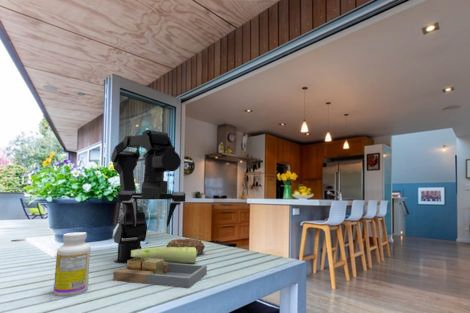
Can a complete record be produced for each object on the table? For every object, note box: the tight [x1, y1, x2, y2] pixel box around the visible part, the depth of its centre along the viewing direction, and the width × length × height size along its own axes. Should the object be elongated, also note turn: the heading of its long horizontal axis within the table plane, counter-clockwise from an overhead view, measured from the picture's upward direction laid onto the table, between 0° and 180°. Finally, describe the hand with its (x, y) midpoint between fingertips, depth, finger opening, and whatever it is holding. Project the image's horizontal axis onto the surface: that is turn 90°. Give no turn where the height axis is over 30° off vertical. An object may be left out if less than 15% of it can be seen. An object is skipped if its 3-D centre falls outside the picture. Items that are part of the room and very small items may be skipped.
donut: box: [166, 238, 206, 256], centre depth 103 cm, size 14×14×5 cm
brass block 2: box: [142, 258, 164, 275], centre depth 74 cm, size 4×4×4 cm
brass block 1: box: [126, 257, 149, 271], centre depth 75 cm, size 4×4×4 cm
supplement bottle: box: [53, 231, 91, 297], centre depth 63 cm, size 7×7×13 cm
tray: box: [146, 262, 208, 289], centre depth 72 cm, size 11×12×2 cm
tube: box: [131, 246, 197, 264], centre depth 86 cm, size 6×5×20 cm
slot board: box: [112, 262, 170, 285], centre depth 75 cm, size 10×12×2 cm
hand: (151, 226), depth 81 cm, fingers open, 9 cm apart
